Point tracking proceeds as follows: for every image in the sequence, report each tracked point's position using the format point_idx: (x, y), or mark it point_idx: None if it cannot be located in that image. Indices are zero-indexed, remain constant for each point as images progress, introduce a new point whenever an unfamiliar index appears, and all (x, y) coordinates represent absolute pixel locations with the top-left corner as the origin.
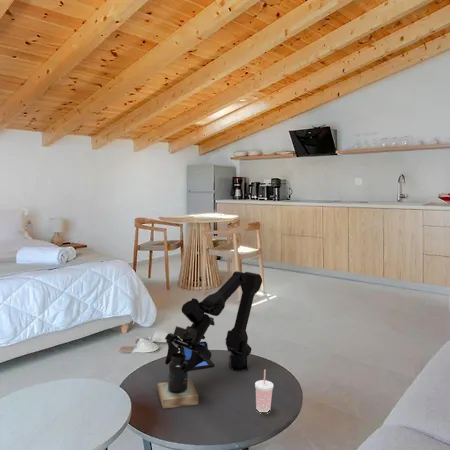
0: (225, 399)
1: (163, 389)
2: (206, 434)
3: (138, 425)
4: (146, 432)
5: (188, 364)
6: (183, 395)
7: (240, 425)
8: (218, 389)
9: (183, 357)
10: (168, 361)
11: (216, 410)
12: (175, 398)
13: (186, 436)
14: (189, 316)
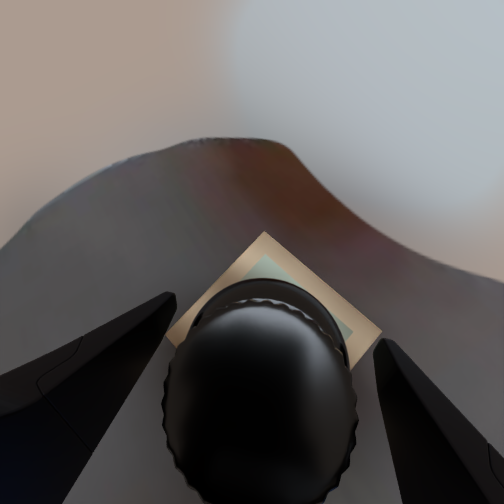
0: None
1: (317, 297)
2: (97, 210)
3: (269, 147)
4: (232, 139)
5: (109, 326)
6: None
7: (24, 294)
8: (158, 494)
9: (166, 377)
10: (383, 373)
11: None
12: (232, 265)
13: (138, 178)
14: None
